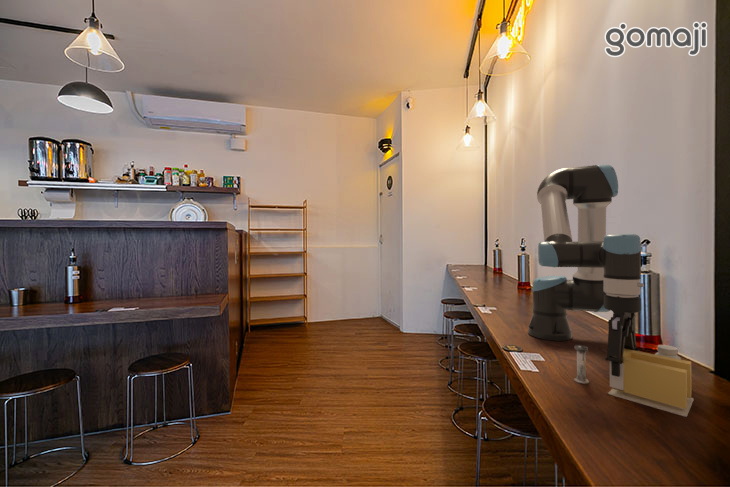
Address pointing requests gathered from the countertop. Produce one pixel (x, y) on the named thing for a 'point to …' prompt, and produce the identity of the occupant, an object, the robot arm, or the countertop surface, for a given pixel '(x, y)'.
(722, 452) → the countertop surface
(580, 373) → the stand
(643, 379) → the c link
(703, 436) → the countertop surface
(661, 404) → the felt mat
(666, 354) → the pill bottle
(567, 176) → the robot arm
